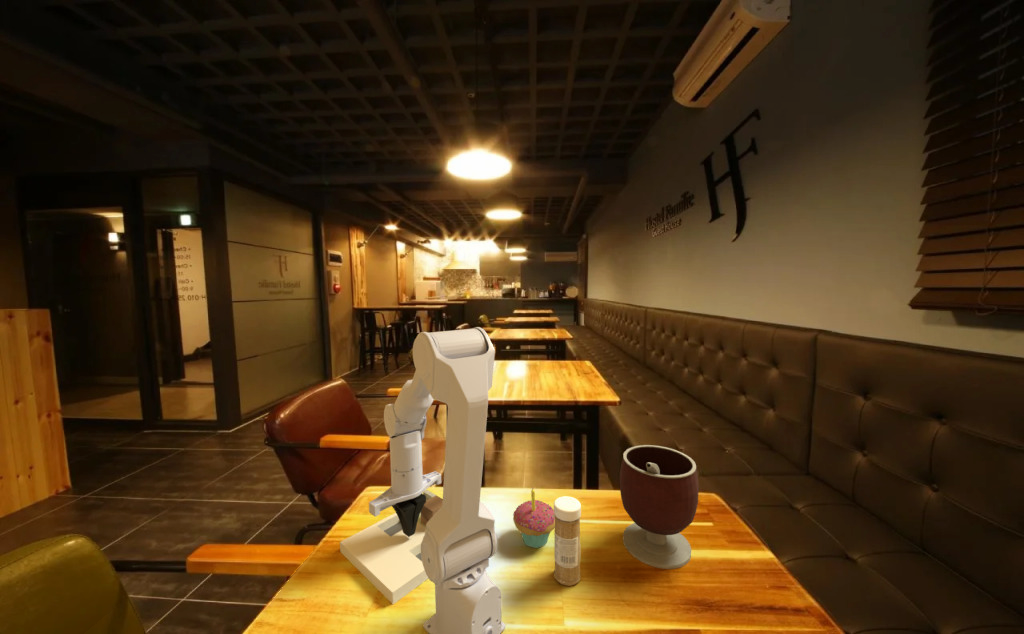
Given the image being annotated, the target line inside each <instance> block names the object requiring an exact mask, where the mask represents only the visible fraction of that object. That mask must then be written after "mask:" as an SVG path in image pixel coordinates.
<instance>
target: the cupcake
mask: <svg viewBox="0 0 1024 634" xmlns="http://www.w3.org/2000/svg"><path fill="white" fill-rule="evenodd" d="M530 491H531V493H530V494H531V500H527V501H524V502H523V503H520V504H519V505H518V506H517V507H516V508H515V510H514V511H513V513H512V514H513V515H512V516H513V517H512V519H513V523H514V526H515V528H516V529H517V531H519V532H520V535H521V536H522V539H523V540H522V541H523V542H524V544H525V545H526V546H528V547H530V548H535V549H536V548H541V547H543V546H546V544H547V543H548V540H549V536H550V534H551V532H552V531H553V530H555V516H554V508H553V507H552V506H551V505H549V503H546V502H543V501H542V500H537V499H536V495H535V494H536V491H535V489H534V487H533V486H532V488H531V490H530Z"/></svg>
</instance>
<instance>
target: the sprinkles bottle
mask: <svg viewBox="0 0 1024 634" xmlns="http://www.w3.org/2000/svg"><path fill="white" fill-rule="evenodd" d="M553 510H554V516H555V528H554V549H553V550H554V552H553V553H554V572H553V576H554V579H555V580H556V581H557V582H558V583H559V584H561V585H562V586H569V587H570V586H574V585H576V584H578V583H579V582H580V580H581V572H580V571H581V567H580V566H581V565H580V564H581V563H580V562H581V528H580V527H581V523H580V522H581V521H580V519H581V516H582V505H581V502H580V501H579V500H578V499H577V498H575V497H573V496H569V495H568V496H560V497H558V498H556V499H555V500H554V502H553Z"/></svg>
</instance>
